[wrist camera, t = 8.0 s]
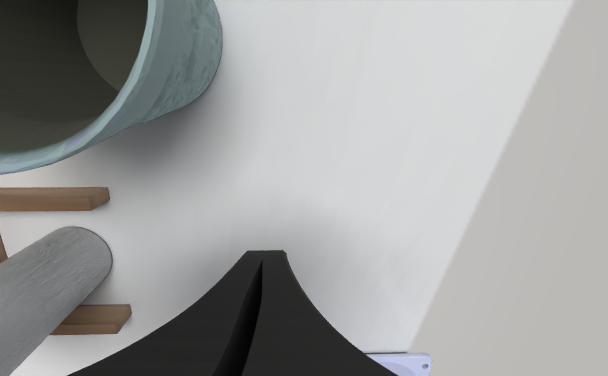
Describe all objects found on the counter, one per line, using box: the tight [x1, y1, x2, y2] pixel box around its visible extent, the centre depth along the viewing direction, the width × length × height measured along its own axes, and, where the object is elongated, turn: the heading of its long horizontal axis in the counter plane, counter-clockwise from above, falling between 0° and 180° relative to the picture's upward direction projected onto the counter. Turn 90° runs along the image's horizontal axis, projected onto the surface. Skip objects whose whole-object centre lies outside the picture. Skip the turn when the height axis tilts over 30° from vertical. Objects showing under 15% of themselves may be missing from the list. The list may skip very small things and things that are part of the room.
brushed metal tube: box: [0, 227, 112, 376], centre depth 17 cm, size 4×4×10 cm
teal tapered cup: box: [0, 0, 222, 175], centre depth 12 cm, size 10×10×12 cm
